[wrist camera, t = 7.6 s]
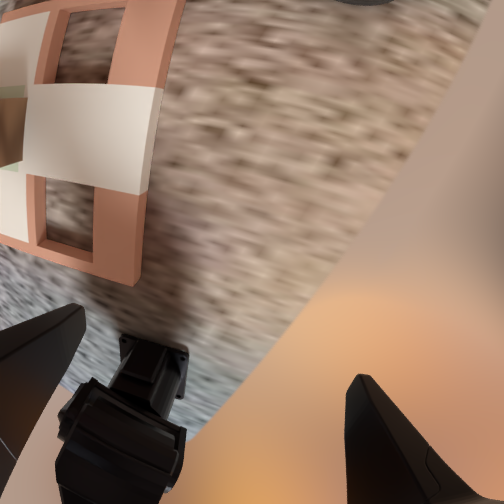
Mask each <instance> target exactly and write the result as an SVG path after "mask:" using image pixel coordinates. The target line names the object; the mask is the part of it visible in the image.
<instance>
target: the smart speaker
mask: <svg viewBox="0 0 504 504" xmlns="http://www.w3.org/2000/svg"><path fill="white" fill-rule="evenodd" d="M336 1H339V2H343V3H348V4H353V5H363V6H372V5H380V4H385V3H388V2H391V1H394V0H336Z"/></svg>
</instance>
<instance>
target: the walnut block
mask: <svg viewBox="0 0 504 504" xmlns="http://www.w3.org/2000/svg"><path fill="white" fill-rule="evenodd" d="M27 101H28V97H27V98H1V99H0V168H1V167H4V166H7V165H10V164H14V163H17V162H20V161H23V142H24V128H25V118H26V109H27Z"/></svg>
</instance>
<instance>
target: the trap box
mask: <svg viewBox="0 0 504 504" xmlns="http://www.w3.org/2000/svg"><path fill="white" fill-rule="evenodd" d="M185 3H186V0H50V1H46V2H41V3H37V4H34V5H30V6H26V7H23V8H19V9H16V10H13V11H10V12H6V13H3V16H2V20H1V23H0V99H1V98H27V97H28V101H27V109H26V118H25V128H24V142H23V161H20V162H17V163H14V164H10V165H7V166H4V167H1V168H0V243H2V244H5V245H7V246H10V247H13V248H16V249H18V250H21V251H24V252H27V253H29V254H32V255H35V256H38V257H41V258H44V259H47V260H49V261H52V262H55V263H58V264H61V265H64V266H67V267H70V268H73V269H77V270H80V271H83V272H86V273H89V274H92V275H95V276H99V277H102V278H105V279H108V280H112V281H115V282H118V283H122V284H125V285H128V286H132V287H133V286H134V285H135V284H136V283H137V281H138V280H139V279H140V278H141V262H142V247H143V234H144V223H145V212H146V202H147V193H148V185H149V177H150V169H151V162H152V155H153V148H154V142H155V135H156V129H157V124H158V118H159V112H160V107H161V102H162V97H163V92H164V87H165V82H166V77H167V73H168V68H169V64H170V59H171V55H172V51H173V47H174V43H175V39H176V35H177V31H178V27H179V24H180V20H181V16H182V13H183V9H184V6H185ZM122 7H126V8H125V12H124V15H123V18H122V22H121V26H120V29H119V33H118V37H117V41H116V45H115V50H114V54H113V58H112V63H111V68H110V72H109V78H108V83H107V84H84V83H65V84H55V79H56V73H57V68H58V63H59V58H60V53H61V49H62V44H63V40H64V36H65V32H66V28H67V25H68V21H69V17H70V14H71V13H73V12H81V11H88V10H97V9H108V8H122ZM46 177H47V178H53V179H58V180H64V181H69V182H74V183H79V184H85V185H90V186H95V189H94V211H93V253H92V252H89V251H85V250H82V249H78V248H75V247H72V246H68V245H65V244H62V243H58V242H55V241H52V240H48V239H47V232H46Z"/></svg>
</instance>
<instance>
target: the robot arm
mask: <svg viewBox="0 0 504 504" xmlns="http://www.w3.org/2000/svg"><path fill="white" fill-rule="evenodd" d="M85 331H86V318H85V309H84V307H83V306H81V305H78V304H76V303H71V304H68V305H66V306H63V307H60V308H58V309H55V310H53V311H50V312H47V313H45V314H42V315H40V316H37V317H35V318H32V319H29V320H27V321H24V322H22V323H19V324H17V325H14V326H12V327H9V328H7V329H4V330H1V331H0V497H1V495H2V493H3V491H4V488H5V486H6V484H7V482H8V479H9V477H10V475H11V473H12V471H13V469H14V467H15V465H16V462H17V460H18V458H19V456H20V454H21V452H22V450H23V448H24V446H25V444H26V442H27V440H28V438H29V436H30V434H31V432H32V430H33V429H34V426H35V425H36V423H37V421H38V419H39V417H40V416H41V414H42V412H43V410H44V408H45V407H46V405H47V403H48V401H49V400H50V398H51V396H52V394H53V393H54V391H55V389H56V387H57V385H58V384H59V382H60V381H61V379H62V377H63V376H64V374H65V372H66V371H67V369H68V367H69V365H70V363H71V361H72V359H73V357H74V354H75V352H76V350H77V348H78V346H79V344H80V342H81V340H82V338H83V336H84V334H85ZM124 339H125V340H124ZM119 344H120V359H121V364H120V365H119V367H118V369H117V371H116V372H115V374H114V376H113V378H112V379H111V381H110V383H109V385H108V387H106V386H104V385H103V384H101V383H99V382H98V380H96V379H95V378H93V377H92V378H91V380H90V381H89V382H88V383H87V382H86V383H81V384H80V386H79V387H78V389H77V390H76V392H75V394H74V395H73V396H72V398H71V399H70V400H69V401H68V402H67V403H66V404H65V405H64V407H63V408H62V409H61V410H60V412H59V413H58V419H59V422H60V426H59V429H60V430H59V433H58V436H57V437H58V438H59V439H60V440H62V441H63V442H64V444H63V446H62V448H61V450H60V452H59V455H58V457H57V459H56V461H55V472H56V481H57V483H58V485H59V491H60V496H61V501H62V504H158V503H159V501H160V499H161V497H162V495H163V493H168V492H169V491H170V490H171V489H172V488H173V486H174V485H175V483H176V481H177V479H178V477H179V475H180V472H181V470H182V466H183V459H184V450H185V441H186V432H187V429H186V428H184V427H182V426H180V427H179V426H177V425H175V424H173V423H171V422H169V421H167V419H168V416H169V413H170V410H171V408H172V405H173V402H174V399H175V398H176V399H183V397H184V394H185V385H186V377H187V369H188V362H189V355H188V354H187V353H186V352H183V351H179V350H176V349H172V348H169V347H165V346H162V345H158V344H155V343H152V342H148V341H145V340H142V339H139V338H136V337H133V336H129V335H126V334H122V335H121V337H120V338H119ZM183 357H184V358H183ZM344 440H345V457H346V478H347V504H504V501H500V500H493V499H488V498H485V497H482V496H480V495H479V494H477V493H476V492H475V491H473V489H471V487H469V486H468V485H467V484H466V483H465V482H464V481H463V480H462V479H461V478H460V477H459V476H458V475H457V474H456V473H455V472H454V471H453V470H452V469H451V468H450V467H449V466H448V465H447V464H446V463H445V462H444V461H443V460H442V459H441V458H440V456H439V455H438V454H437V453H436V452H435V451H434V449H433V448H432V447H431V446H429V444H428V442H427V441H426V440H425V439H424V438H423V437H422V435H421V434H420V433H419V432H418V431H417V430H416V428H415V427H414V426H413V425H412V424H411V422H410V421H409V420H408V419H407V418H406V417H405V416H404V414H403V413H402V412H401V411H400V410H399V408H398V407H397V406H396V405H395V404H394V403H393V402H392V400H391V399H390V398H389V397H388V396H387V395H386V393H385V392H384V391H383V390H382V389H381V388H380V386H379V385H378V384H377V383H376V382H375V380H374V379H373V378H372V377H371V376H370V375H365V374H358V375H356V377H355V378H354V380H353V382H352V383H351V385H350V387H349V388H348V390H347V393H346V406H345V429H344Z"/></svg>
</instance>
